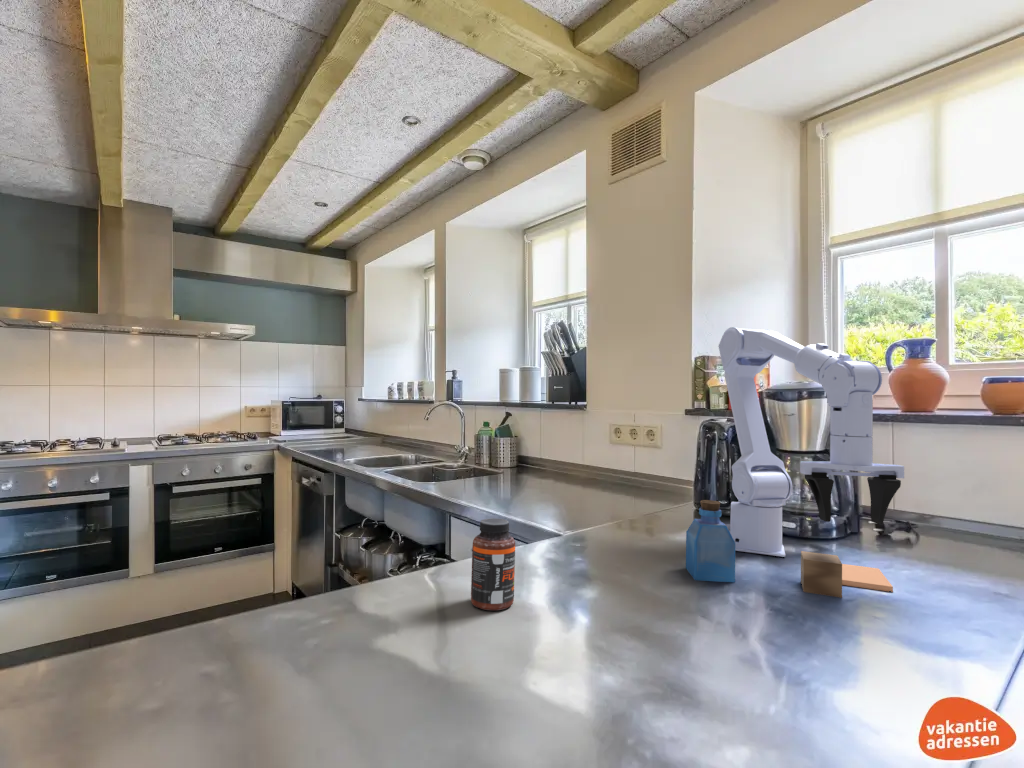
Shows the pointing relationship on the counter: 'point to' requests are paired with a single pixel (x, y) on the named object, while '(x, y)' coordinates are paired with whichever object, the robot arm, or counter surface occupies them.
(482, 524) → the supplement bottle
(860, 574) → the plate
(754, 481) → the robot arm
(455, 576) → the counter surface
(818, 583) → the cube
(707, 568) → the perfume bottle
